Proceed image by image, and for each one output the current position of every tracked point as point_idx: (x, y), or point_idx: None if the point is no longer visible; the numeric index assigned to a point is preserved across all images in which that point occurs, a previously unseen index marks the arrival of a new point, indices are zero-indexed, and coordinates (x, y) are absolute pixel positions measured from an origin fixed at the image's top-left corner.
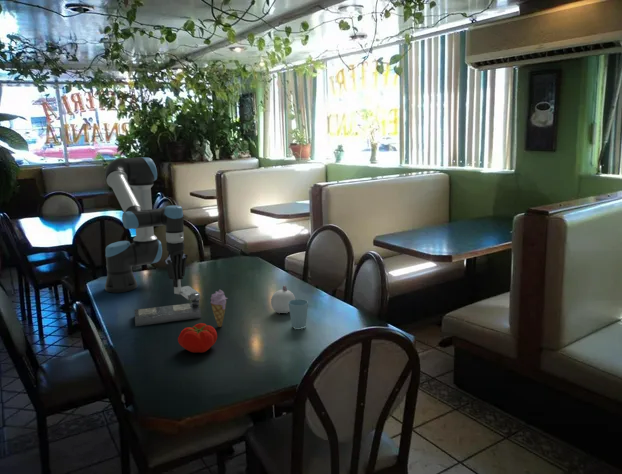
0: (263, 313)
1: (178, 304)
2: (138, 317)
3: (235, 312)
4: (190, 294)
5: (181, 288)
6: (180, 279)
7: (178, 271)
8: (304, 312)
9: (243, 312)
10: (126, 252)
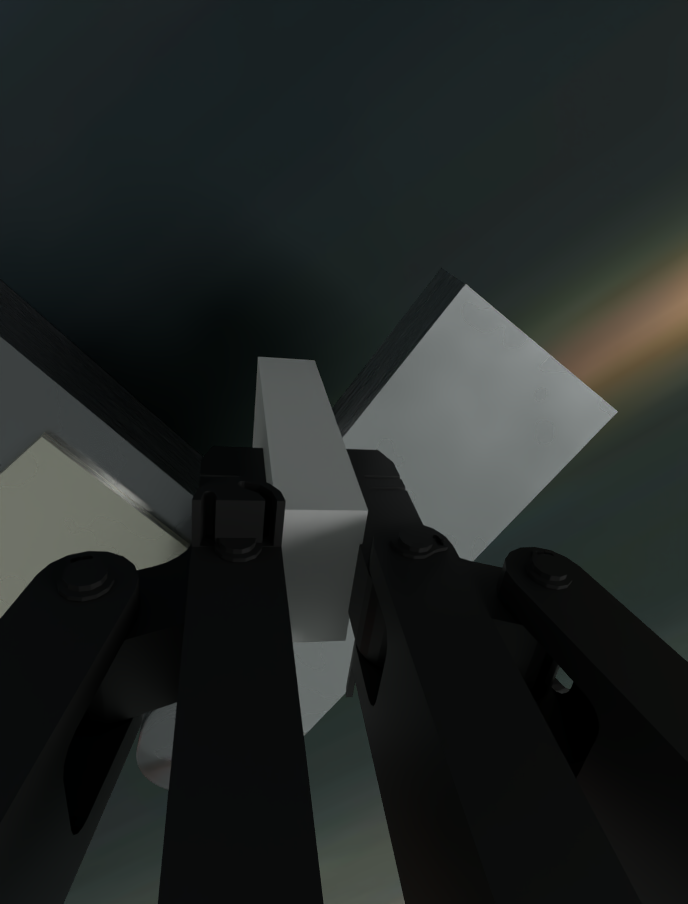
0: (363, 899)
1: (145, 457)
2: None
3: (324, 797)
4: (169, 719)
5: (443, 397)
6: (340, 639)
7: (405, 810)
8: None
9: (342, 828)
10: None
